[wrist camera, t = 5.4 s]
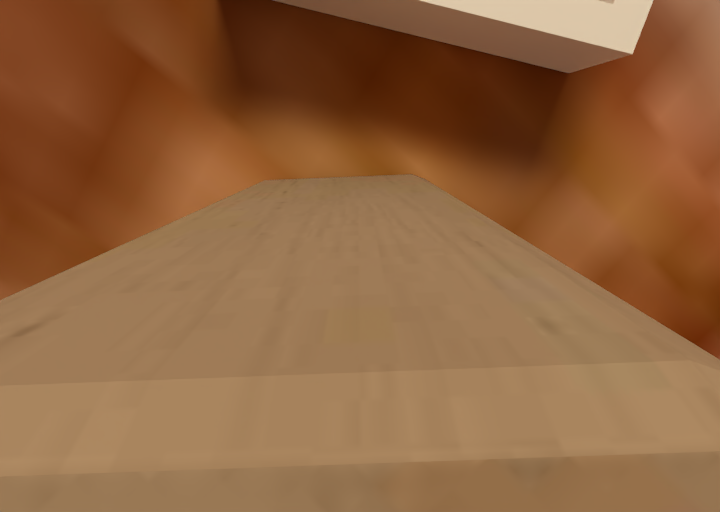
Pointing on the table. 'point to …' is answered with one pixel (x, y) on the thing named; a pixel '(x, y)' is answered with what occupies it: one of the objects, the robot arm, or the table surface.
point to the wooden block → (346, 370)
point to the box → (509, 26)
